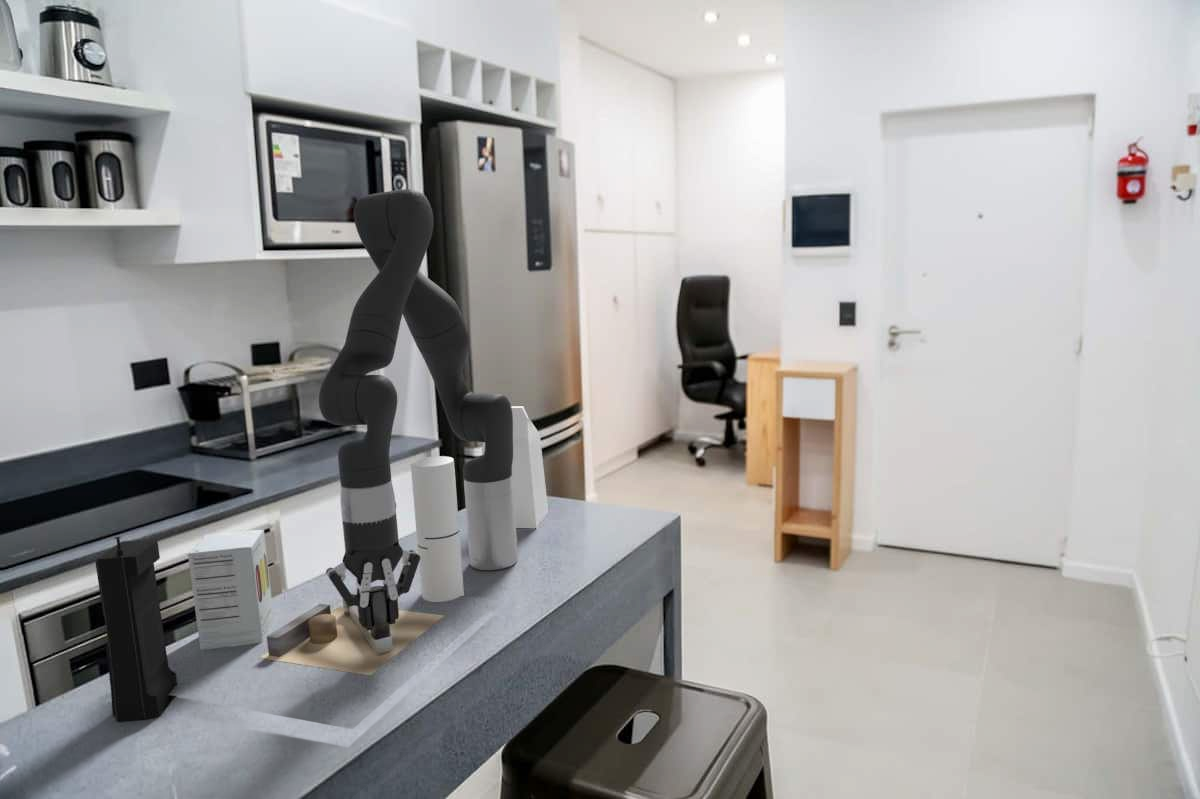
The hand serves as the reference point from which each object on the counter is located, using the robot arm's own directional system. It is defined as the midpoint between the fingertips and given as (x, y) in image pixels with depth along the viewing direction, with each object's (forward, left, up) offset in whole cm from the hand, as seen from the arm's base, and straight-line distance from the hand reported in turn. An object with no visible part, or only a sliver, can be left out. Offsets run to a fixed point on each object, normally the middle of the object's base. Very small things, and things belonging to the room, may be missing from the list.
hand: (379, 624), depth 122 cm
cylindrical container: (-21, -2, -6) cm, 22 cm away
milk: (-65, -9, -6) cm, 66 cm away
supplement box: (+1, -26, -6) cm, 27 cm away
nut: (-1, -11, -4) cm, 12 cm away
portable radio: (+20, -24, -6) cm, 32 cm away
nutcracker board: (-3, -7, -6) cm, 10 cm away
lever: (-5, -6, -4) cm, 9 cm away
